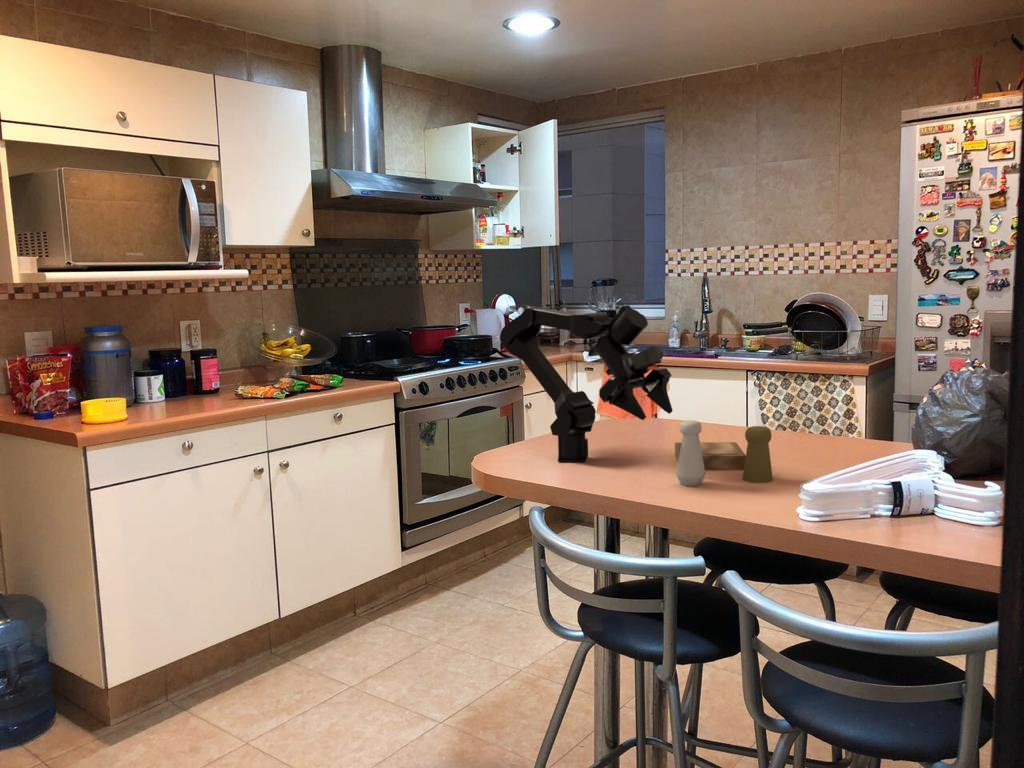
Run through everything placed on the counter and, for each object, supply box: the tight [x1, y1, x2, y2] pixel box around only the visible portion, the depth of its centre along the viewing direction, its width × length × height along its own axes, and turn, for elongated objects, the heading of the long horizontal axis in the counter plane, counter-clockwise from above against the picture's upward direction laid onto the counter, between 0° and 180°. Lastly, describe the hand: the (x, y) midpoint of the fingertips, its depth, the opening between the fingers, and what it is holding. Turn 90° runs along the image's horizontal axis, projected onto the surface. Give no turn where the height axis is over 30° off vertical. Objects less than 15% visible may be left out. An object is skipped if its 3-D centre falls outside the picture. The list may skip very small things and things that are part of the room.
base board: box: [674, 441, 746, 471], centre depth 184 cm, size 14×14×3 cm
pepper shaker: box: [742, 425, 774, 484], centre depth 167 cm, size 6×6×11 cm
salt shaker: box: [675, 420, 706, 488], centre depth 165 cm, size 6×6×13 cm
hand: (658, 415), depth 171 cm, fingers open, 9 cm apart
